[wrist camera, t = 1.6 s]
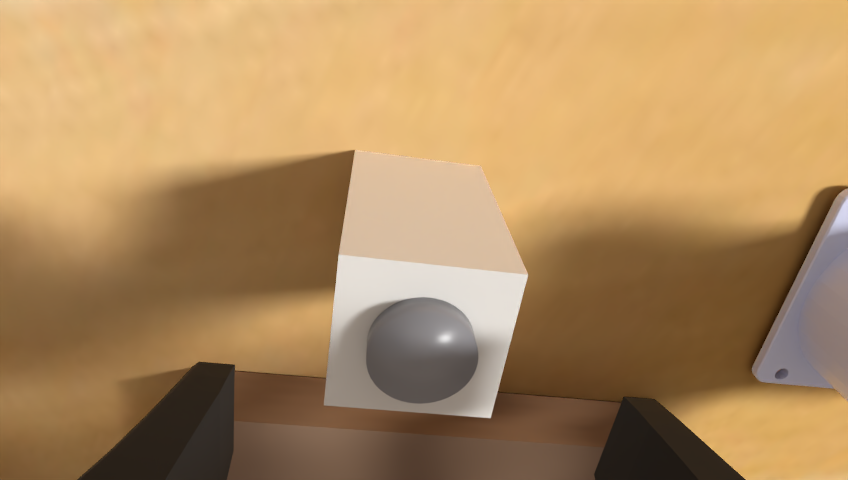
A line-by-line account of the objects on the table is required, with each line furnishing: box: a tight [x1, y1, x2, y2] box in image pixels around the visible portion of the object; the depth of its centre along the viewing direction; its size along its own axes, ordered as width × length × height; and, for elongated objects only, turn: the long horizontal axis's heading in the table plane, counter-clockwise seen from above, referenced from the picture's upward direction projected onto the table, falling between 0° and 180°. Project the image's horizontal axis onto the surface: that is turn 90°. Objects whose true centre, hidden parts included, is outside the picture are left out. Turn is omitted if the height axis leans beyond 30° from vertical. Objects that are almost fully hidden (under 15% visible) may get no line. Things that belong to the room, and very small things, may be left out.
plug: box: [324, 150, 528, 418], centre depth 16 cm, size 4×4×8 cm
